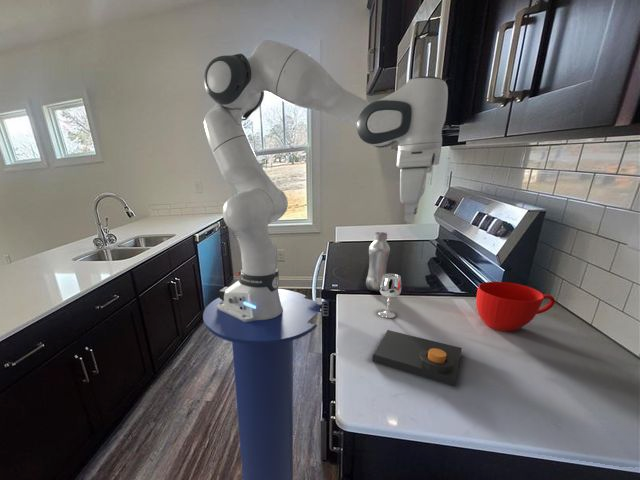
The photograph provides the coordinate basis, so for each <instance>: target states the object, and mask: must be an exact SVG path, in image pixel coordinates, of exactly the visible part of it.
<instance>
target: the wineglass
mask: <svg viewBox="0 0 640 480" xmlns="http://www.w3.org/2000/svg"><path fill="white" fill-rule="evenodd" d="M402 282H403V281H402V277H401V275H400V274H396V273H386V274H384V275H383V276H382V279H381V281H380V285H379V290H380V291H379V293H380V294H381V295H382V296H383V297H384V298H386V310H381V311H379V312H378V315H379V316H380V317H382V318H387V319H392V318H395V317H396V313H394V312H392V311H390V310H389V309H390V308H389V307H390V304H391V300H392V299H393V298H397V297H398V296H400V294H401V292H402V289H403V283H402Z"/></svg>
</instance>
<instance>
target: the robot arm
mask: <svg viewBox="0 0 640 480" xmlns="http://www.w3.org/2000/svg"><path fill="white" fill-rule="evenodd" d="M203 83H204V88H205V91H206V93H207V94H208V97H210V98H211V99H212V101H214V102H215V105H214V107H212V108H211V109H209V111H207V113H206V114H205V116H204V119H203V127H204V131H205V135H206V138H207V139H206V140H207V141H208V145H209V147H210V150H211V153H212V155H213V157H214V159H215V161H216V164H217V167H218V169H219V171H220V173H221V176H222V178H223V179H224V181H225V182H226V183H228V184H229V185H231V186H232V187H234V188H235V190H236V191H237V192H238V193H236V194H234V195H232V196H231V197H229V198H228V199H227V200H226V201H225V202H224V204H223V207H222V218H223V221H224V223H225V225H226V226H227V227H228V228H229V229H230V230H231V231H232V232H233V233H234V235H235V236H236V239H237V242H238V245H239V250H240V258H241V259H240V260H241V269H240V270H239V271H238V272H235V277H238V276H239V277H238V280H237V281H235V282H234V283H232V284H231V285H230V286H224V287H223V288H221V289H219V290H218V295H219V297H220V299H222V301H221V302H220V303H219V304H218V309H219V310H221V311H223V312H225V313H227V314H229V315H231V316H233V317H235V318H237V319H240V320H242V321H244V322H250V321H254V320H267V319H272V318H275V317H277V316H279V315H280V314H281V313H282V311H283V308H282V305H281V302H280V297H279V291H278V289H279V283H280V279H279V278H280V275H279V274H280V273H279V268H278V247H277V244H276V243H275V242H274V241H273V240H272V238H271V236H270V232H269V225H270V224H273V223H275V222H277V221H279V220H280V218H282V217H283V216H284V215H285V214H286V212H287V210H288V206H289V202H288V201H289V200H288V197H287V195H286V194H285V192H284V191H283V190H281V189H280V188H279V187H277V186H276V184H275V183H274V182H273V181H272V180H271V178H270V177H269V176H268V173H266V171H265V170H264V168H263V167H262V165H261V164H260V161H259V160H258V158H257V156H256V154H255V151H254V149H253V147H252V144H251V142H250V139H249V137H248V135H247V133H246V131H245V128H244V125H243V121H247V120H248V119H249V118H250V117H251V115H252V114H253V113H255V112H256V111H257V110H258V109H260V108H259V107H260V106H261V105H262V103H263V101H264V97H265V93H268V94H271V95H272V96H274V97H276V98H278V99H279V100H281V101H283V102H285V103H288V104H291V105H293V106H296V107H300V108H304V109H309V110H314V111H320V112H324V113H327V114H330V115H333V117H334V116H335V117H336V118H338V119H340V120H342V121H344V122H346V123H348V124H349V125H351V126H352V127H355V128H356V131H357V134H358V137H359V138H360V140H362V142H364V143H365V144H367V145H370V146H373V147H375V148H380V149H382V148H388V147H391V146H392V145H394V144H396V143H398V146H397V155H396V156H397V157H396V167H397V168H398V169H400V172H399V200H400V203H401V204H404V221H405V222H413V221H414V218H415V215H416V214H417V213H418V208H419V207H418V206H419V203H420V200H421V199H422V196H423V195H424V193H425V190H426V183H427V175H428V174H430V173H432V172H433V166H437V165H439V164H440V161H441V153H442V146H443V135H442V134H443V128H444V125H445V123H446V118H447V111H448V101H449V90H448V89H449V87H448V84H447V83H446V81H445V80H444V79H443V78H442V77H438V76H431V75H423V76H416V77H413V78H410V79H409V80H408V81H407V82H406V83H405V84H403V85H402V86H401V87H400V88H399V89H397V90H395V91H393V92H392V93H390V94H388V95H386V96H384V97H382V98H379V99H377V100H375V101H373V102H370V101H368V100H366V99H364V98H362V97H360V96H358V95H357V94H355V93H352V92H351V91H349V90H347V89H346V88H344V87H343V86H342V85H341V84H339V83H338V81H336V80H335V79H334V77H332V75H331V74H330V73H329V72H328V71H327V70H326V68H325V67H324V66H322V64H320V63H319V62H318V61H317V60H316V59H315V58H313V57H312V56H310V55H309V54H307V53H306V52H304V51H302V50H300V49H298V48H296V47H294V46H291V45H289V44H286V43H283V42H281V41H276V40H271V39H265V40H262V41H260V42H259V43H258V44H257V45H256V46H255V47H254V49H253V51H252V53H251V55H250V56H249V57H248V58H247V56H245V54H243V53H236V54H231V55H230V54H229V55H227V54H226V55H220V56H219V55H218V56H217V57H215V58H213V59H211V61H210V62H209V63H208V64H207V66H206V68H205V71H204V75H203Z"/></svg>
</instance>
